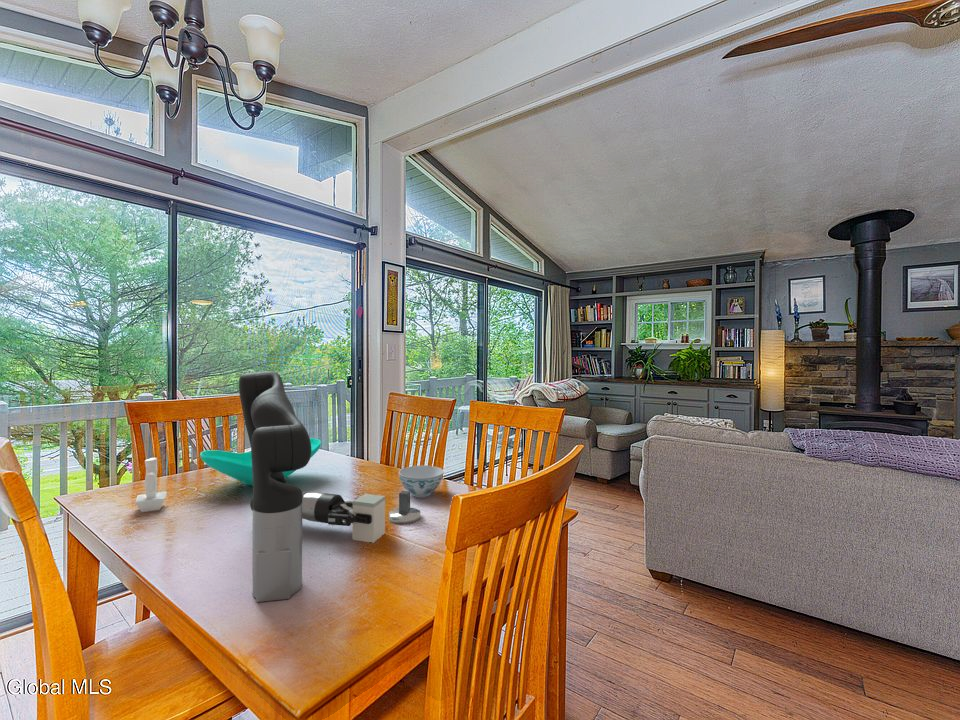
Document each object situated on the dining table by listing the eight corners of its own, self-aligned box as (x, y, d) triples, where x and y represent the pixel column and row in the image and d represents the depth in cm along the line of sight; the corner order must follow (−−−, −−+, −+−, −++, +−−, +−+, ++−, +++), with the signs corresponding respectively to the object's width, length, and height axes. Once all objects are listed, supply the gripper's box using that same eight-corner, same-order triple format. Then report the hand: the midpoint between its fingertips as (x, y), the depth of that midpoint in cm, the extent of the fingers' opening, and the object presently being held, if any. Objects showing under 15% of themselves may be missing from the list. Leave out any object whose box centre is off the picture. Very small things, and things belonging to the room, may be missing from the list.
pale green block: (373, 542, 114) (373, 503, 113) (352, 539, 115) (352, 501, 115) (384, 533, 119) (385, 496, 119) (364, 530, 121) (365, 493, 121)
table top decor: (209, 506, 137) (209, 463, 136) (192, 484, 157) (191, 447, 157) (334, 482, 163) (335, 445, 163) (306, 466, 184) (306, 433, 183)
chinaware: (392, 490, 155) (393, 468, 155) (433, 485, 162) (434, 463, 161) (406, 504, 141) (406, 480, 141) (450, 497, 148) (450, 474, 148)
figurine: (134, 516, 128) (133, 463, 128) (138, 505, 136) (137, 456, 136) (165, 511, 132) (164, 460, 132) (167, 501, 140) (167, 454, 140)
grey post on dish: (412, 525, 125) (412, 499, 125) (382, 521, 127) (383, 495, 127) (425, 514, 134) (425, 489, 133) (397, 510, 136) (397, 486, 136)
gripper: (304, 502, 114) (363, 510, 110) (337, 485, 128) (390, 492, 123) (304, 531, 114) (362, 540, 110) (337, 511, 128) (390, 519, 124)
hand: (377, 514), depth 117 cm, fingers closed on pale green block, 6 cm apart
